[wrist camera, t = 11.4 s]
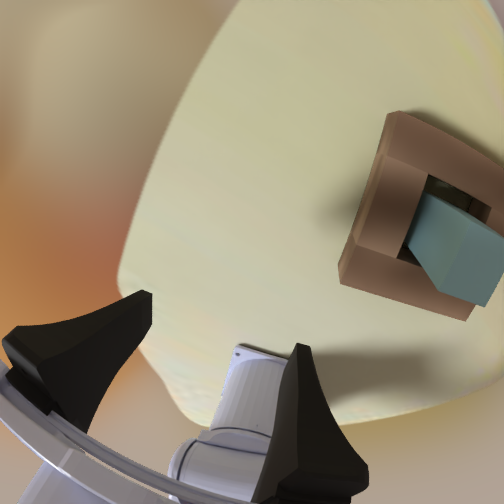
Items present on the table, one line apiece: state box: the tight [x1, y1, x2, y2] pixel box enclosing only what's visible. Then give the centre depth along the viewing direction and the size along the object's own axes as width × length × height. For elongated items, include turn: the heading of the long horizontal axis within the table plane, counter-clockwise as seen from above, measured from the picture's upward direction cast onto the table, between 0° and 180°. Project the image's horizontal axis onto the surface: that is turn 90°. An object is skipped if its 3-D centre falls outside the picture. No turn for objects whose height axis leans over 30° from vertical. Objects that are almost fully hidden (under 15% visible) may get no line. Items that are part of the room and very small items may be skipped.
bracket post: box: [404, 190, 504, 307], centre depth 14 cm, size 4×4×8 cm
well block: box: [338, 111, 504, 322], centre depth 16 cm, size 12×12×3 cm
